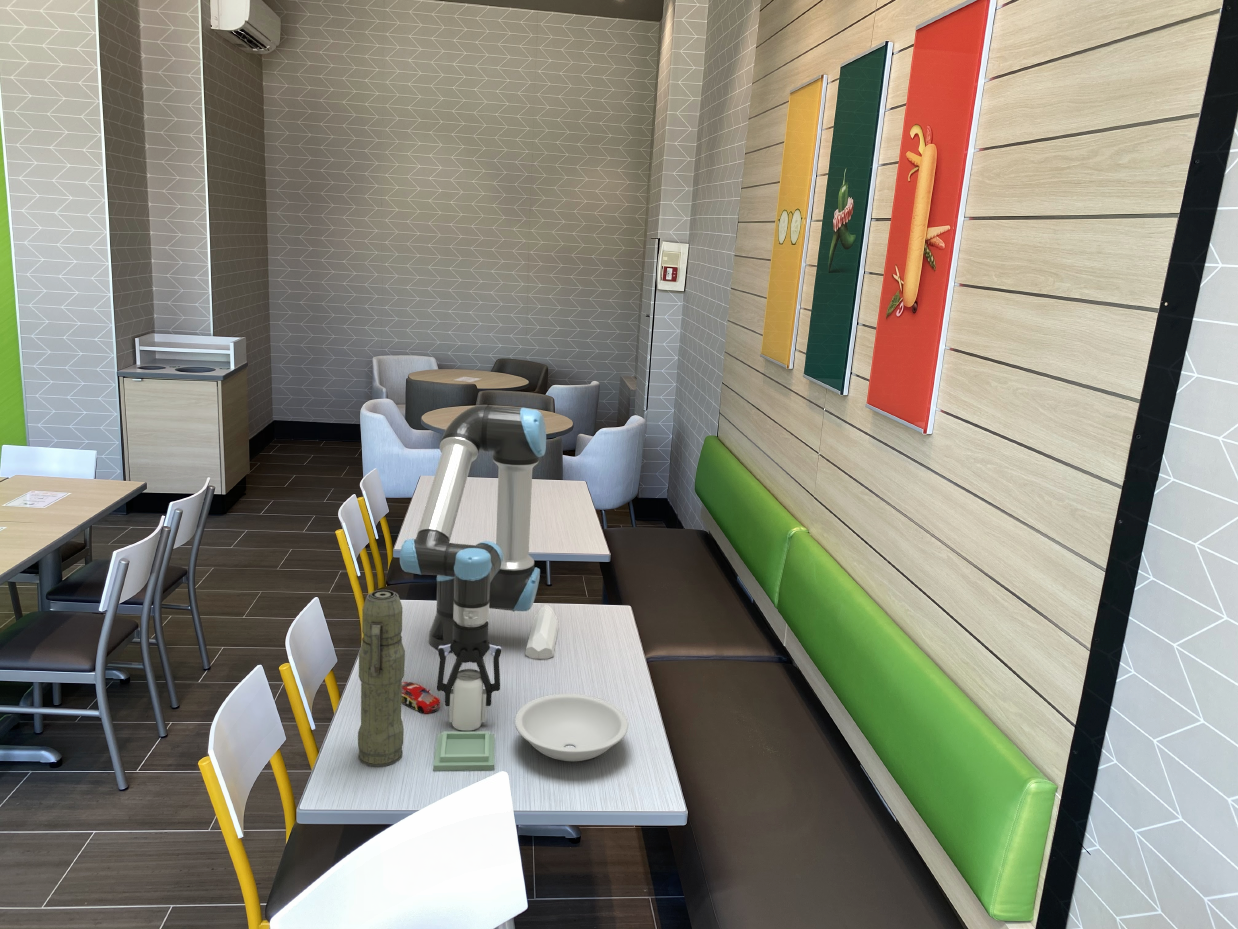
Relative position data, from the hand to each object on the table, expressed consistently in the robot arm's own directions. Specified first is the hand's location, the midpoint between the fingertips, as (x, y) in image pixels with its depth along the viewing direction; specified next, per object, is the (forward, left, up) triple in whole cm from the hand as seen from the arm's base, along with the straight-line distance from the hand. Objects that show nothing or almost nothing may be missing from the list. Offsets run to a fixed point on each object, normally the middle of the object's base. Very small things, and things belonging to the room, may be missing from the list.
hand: (467, 718), depth 192 cm
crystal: (-44, +19, -2) cm, 48 cm away
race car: (-10, -12, -2) cm, 16 cm away
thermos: (+12, -17, -2) cm, 21 cm away
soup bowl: (+10, +22, -2) cm, 24 cm away
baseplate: (+12, 0, -1) cm, 12 cm away
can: (0, 0, -2) cm, 2 cm away
